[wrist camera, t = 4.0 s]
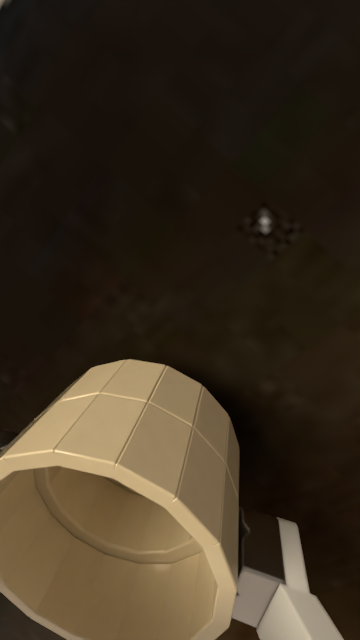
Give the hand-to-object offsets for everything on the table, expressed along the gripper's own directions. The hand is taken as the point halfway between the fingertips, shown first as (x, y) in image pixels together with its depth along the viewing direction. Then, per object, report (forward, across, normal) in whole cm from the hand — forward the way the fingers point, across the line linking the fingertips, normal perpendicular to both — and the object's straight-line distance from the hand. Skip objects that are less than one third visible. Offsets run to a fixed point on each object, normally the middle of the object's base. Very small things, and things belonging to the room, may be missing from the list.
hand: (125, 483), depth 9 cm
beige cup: (+2, 0, 0) cm, 2 cm away
